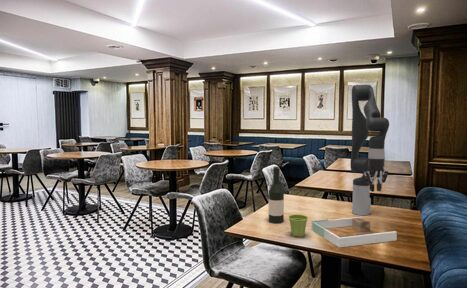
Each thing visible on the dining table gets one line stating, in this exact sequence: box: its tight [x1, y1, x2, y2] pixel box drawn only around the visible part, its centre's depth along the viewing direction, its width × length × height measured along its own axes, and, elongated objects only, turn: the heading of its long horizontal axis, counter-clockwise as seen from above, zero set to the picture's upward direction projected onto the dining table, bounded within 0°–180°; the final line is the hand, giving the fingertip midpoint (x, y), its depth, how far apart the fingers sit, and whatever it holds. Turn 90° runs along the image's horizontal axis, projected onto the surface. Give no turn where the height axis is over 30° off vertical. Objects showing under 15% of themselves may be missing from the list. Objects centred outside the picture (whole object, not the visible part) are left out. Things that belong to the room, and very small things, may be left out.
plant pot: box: [287, 213, 309, 238], centre depth 152 cm, size 9×9×9 cm
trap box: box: [310, 216, 398, 248], centre depth 152 cm, size 30×24×5 cm
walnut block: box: [351, 217, 371, 233], centre depth 160 cm, size 6×6×5 cm
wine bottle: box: [268, 166, 285, 225], centre depth 172 cm, size 8×8×30 cm
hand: (375, 191), depth 160 cm, fingers open, 3 cm apart
